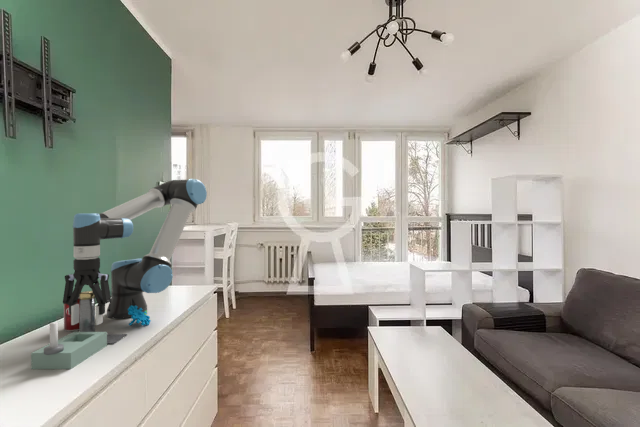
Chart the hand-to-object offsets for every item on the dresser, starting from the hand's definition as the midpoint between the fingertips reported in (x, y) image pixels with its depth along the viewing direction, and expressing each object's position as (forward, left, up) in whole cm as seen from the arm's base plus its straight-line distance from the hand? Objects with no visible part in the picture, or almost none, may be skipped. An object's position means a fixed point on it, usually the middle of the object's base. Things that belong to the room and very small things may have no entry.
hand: (87, 323), depth 114 cm
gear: (-14, +11, -5) cm, 18 cm away
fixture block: (+14, +5, -5) cm, 16 cm away
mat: (+1, +8, -5) cm, 10 cm away
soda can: (-10, -11, -5) cm, 16 cm away
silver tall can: (0, 0, -5) cm, 5 cm away
